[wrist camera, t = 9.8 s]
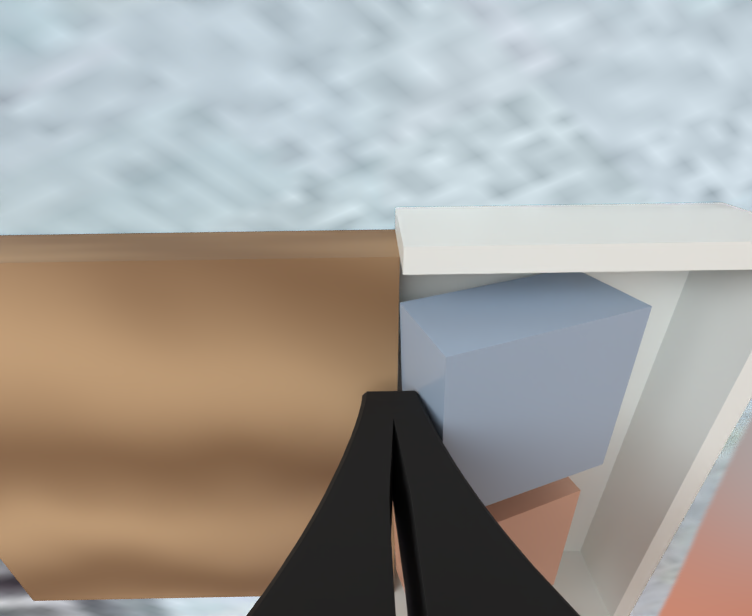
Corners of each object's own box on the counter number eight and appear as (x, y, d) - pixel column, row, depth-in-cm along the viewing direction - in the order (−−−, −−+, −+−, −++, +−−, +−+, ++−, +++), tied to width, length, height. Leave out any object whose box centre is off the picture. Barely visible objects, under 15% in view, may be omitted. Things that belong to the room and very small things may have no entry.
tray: (585, 547, 18) (622, 626, 15) (391, 551, 18) (394, 631, 15) (723, 202, 11) (839, 240, 8) (395, 206, 11) (403, 246, 8)
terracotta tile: (512, 524, 16) (553, 584, 14) (396, 569, 15) (423, 643, 13) (528, 432, 14) (580, 490, 12) (391, 477, 12) (424, 550, 10)
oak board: (391, 542, 18) (393, 593, 16) (67, 549, 17) (33, 600, 16) (394, 229, 11) (399, 256, 9) (-130, 237, 11) (-229, 266, 9)
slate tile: (545, 408, 13) (602, 464, 11) (403, 451, 12) (439, 522, 10) (573, 267, 11) (652, 306, 9) (399, 302, 10) (446, 357, 8)
